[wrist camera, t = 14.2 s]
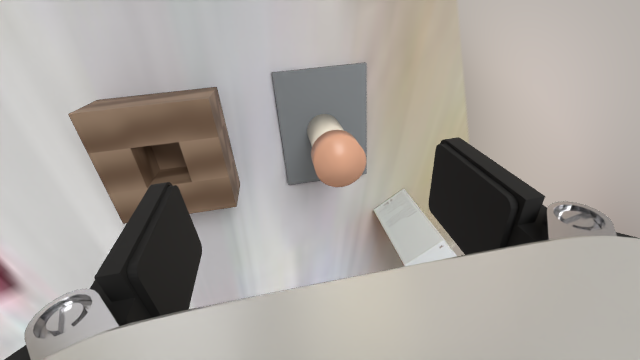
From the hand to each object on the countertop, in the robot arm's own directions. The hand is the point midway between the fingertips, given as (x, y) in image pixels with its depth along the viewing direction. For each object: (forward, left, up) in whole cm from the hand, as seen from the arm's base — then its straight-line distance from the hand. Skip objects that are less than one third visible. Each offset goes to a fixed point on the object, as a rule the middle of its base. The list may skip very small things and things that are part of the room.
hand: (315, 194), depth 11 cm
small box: (+25, +17, -31) cm, 43 cm away
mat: (+8, +5, -30) cm, 32 cm away
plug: (+8, +5, -30) cm, 31 cm away
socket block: (+8, -15, -30) cm, 35 cm away
